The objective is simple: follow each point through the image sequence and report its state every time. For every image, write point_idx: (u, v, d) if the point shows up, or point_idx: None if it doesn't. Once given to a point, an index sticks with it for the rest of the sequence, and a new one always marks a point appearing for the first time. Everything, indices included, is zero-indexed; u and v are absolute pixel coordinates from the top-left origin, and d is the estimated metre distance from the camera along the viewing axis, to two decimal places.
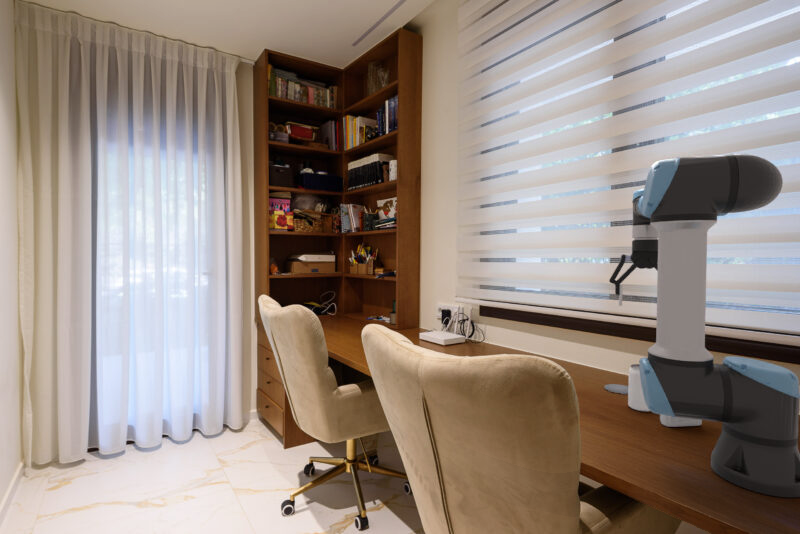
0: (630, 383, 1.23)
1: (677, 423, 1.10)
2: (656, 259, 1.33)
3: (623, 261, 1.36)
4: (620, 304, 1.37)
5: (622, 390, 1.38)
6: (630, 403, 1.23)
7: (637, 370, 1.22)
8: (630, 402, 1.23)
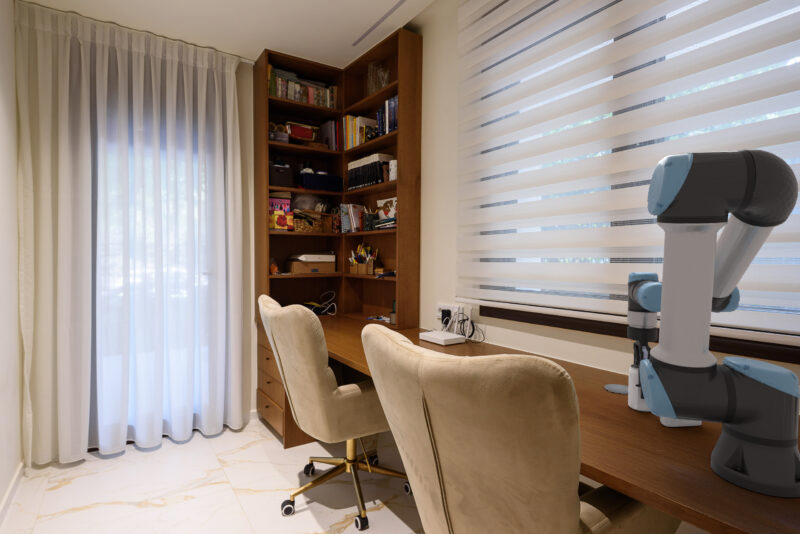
0: (630, 383, 1.23)
1: (677, 423, 1.10)
2: (639, 349, 1.21)
3: None
4: None
5: (622, 390, 1.38)
6: (630, 403, 1.23)
7: (637, 370, 1.22)
8: (630, 402, 1.23)
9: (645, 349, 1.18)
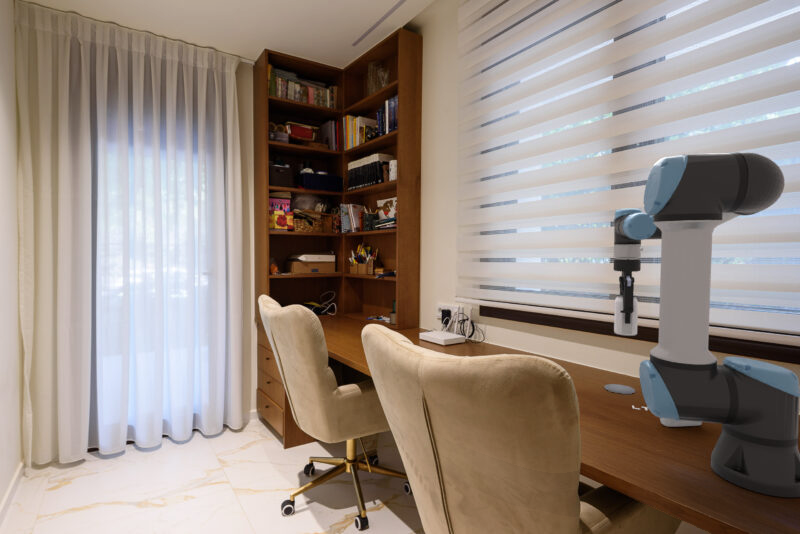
0: (616, 311, 1.35)
1: (677, 423, 1.10)
2: (623, 279, 1.32)
3: None
4: None
5: (622, 390, 1.38)
6: (615, 329, 1.35)
7: (622, 298, 1.33)
8: (615, 328, 1.35)
9: (629, 278, 1.30)
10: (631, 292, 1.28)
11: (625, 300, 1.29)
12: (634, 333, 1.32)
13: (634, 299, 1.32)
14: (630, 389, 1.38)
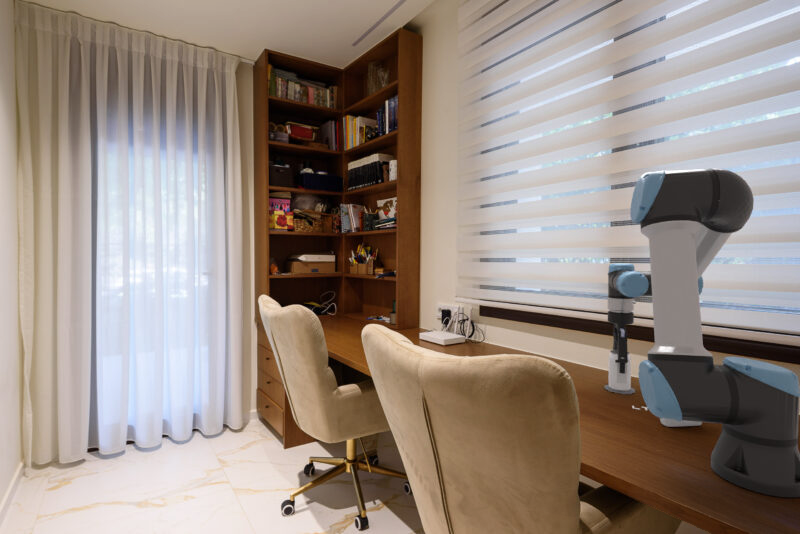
0: (610, 366, 1.40)
1: (677, 423, 1.10)
2: (617, 331, 1.37)
3: None
4: None
5: None
6: (610, 384, 1.40)
7: (615, 355, 1.38)
8: (610, 383, 1.40)
9: (622, 329, 1.35)
10: (625, 343, 1.32)
11: (619, 350, 1.32)
12: (627, 389, 1.37)
13: None
14: (630, 389, 1.38)
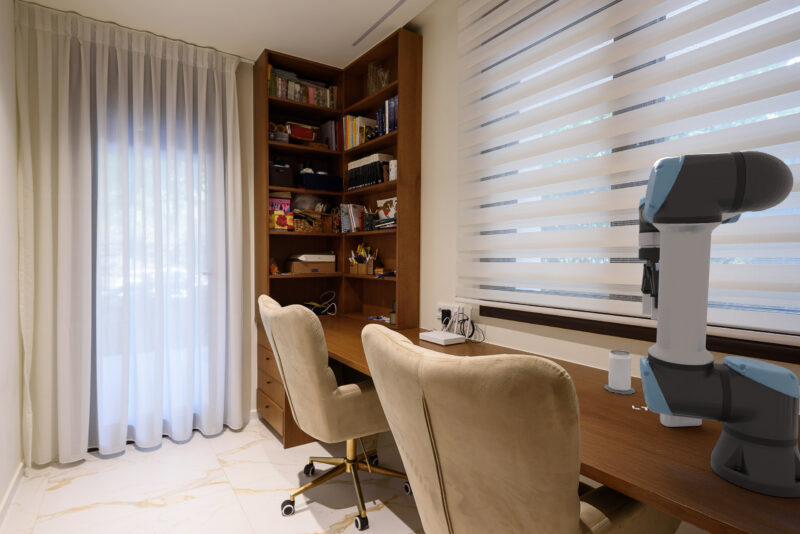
0: (610, 366, 1.40)
1: (677, 423, 1.10)
2: (650, 268, 1.28)
3: (643, 270, 1.37)
4: None
5: None
6: (610, 384, 1.40)
7: (616, 355, 1.38)
8: (610, 383, 1.40)
9: None
10: None
11: (655, 283, 1.22)
12: (628, 389, 1.37)
13: (627, 356, 1.37)
14: (630, 389, 1.38)
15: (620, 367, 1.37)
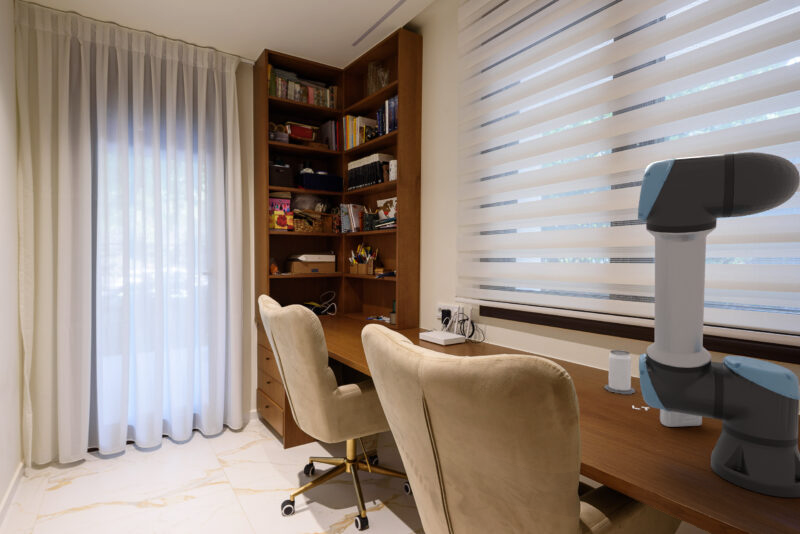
0: (610, 366, 1.40)
1: (677, 423, 1.10)
2: None
3: None
4: None
5: None
6: (610, 384, 1.40)
7: (616, 355, 1.38)
8: (610, 383, 1.40)
9: None
10: None
11: None
12: (628, 389, 1.37)
13: (627, 356, 1.37)
14: (630, 389, 1.38)
15: (620, 367, 1.37)
